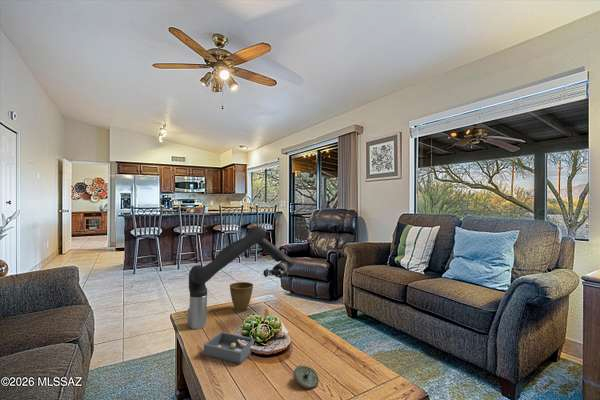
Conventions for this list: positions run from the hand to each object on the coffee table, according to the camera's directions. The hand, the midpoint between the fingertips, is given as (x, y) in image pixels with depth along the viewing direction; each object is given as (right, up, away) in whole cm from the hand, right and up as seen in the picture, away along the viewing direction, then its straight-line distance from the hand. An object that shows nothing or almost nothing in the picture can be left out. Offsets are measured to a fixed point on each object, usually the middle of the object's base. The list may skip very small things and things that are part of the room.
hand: (272, 276), depth 165 cm
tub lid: (-2, -29, -11) cm, 30 cm away
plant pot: (-23, -28, +22) cm, 42 cm away
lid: (+18, -29, -50) cm, 61 cm away
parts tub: (-17, -28, -30) cm, 44 cm away
